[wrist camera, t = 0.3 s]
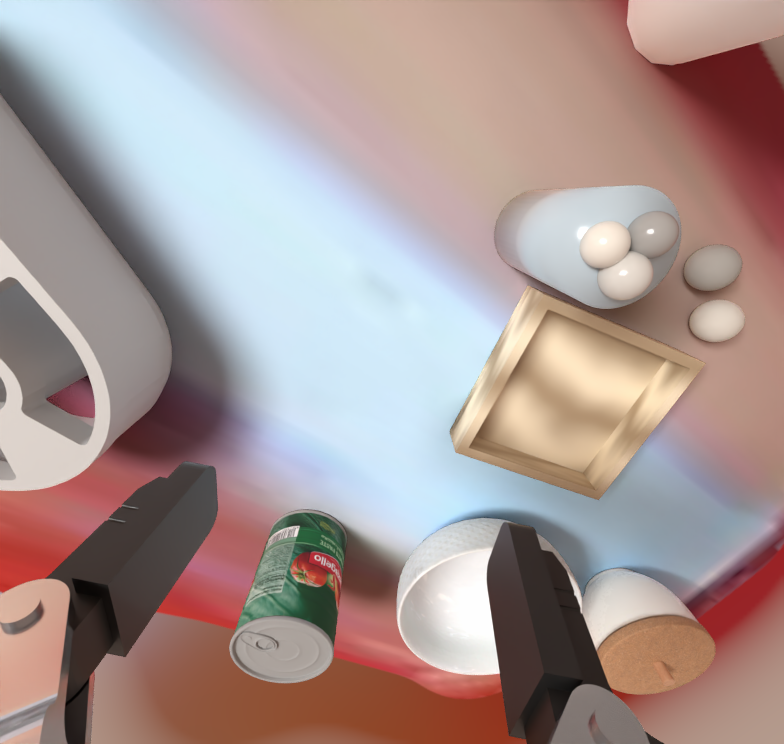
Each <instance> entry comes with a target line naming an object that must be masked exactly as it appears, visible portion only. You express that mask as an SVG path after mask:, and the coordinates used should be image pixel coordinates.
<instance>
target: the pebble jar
mask: <svg viewBox="0 0 784 744" xmlns="http://www.w3.org/2000/svg"><path fill="white" fill-rule="evenodd" d="M494 241H495V246H496V249H497V252H498V254H499V256H500V257H501V258H502V260H503V261H505V262H506V263H507V264H508V265H510V266H512V267H514V268H516V269H518V270H520V271H522V272H523V273H525V274H527V275H529V276H531V277H533V278H535V279H537V280H539V281H541V282H543V283H545V284H547V285H549V286H551V287H553V288H555V289H557V290H559V291H561V292H563V293H565V294H567V295H568V296H570V297H572V298H574V299H576V300H578V301H580V302H582V303H584V304H586V305H588V306H591V307H595V308H600V309H612V308H618V307H623V306H626V305H629V304H631V303H633V302H635V301H637V300H639V299H641V298H642V297H644V296H645V295H647V294H648V293H649V292H651V291H652V290H653V289H654V288H655V287H656V286H657V285H658V284H659V283H660V282H661V281H662V280H663V278H664V277H665V276H666V274H667V273H668V272H669V270H670V268H671V267H672V265H673V263H674V261H675V258H676V256H677V253H678V250H679V246H680V241H681V223H680V218H679V214H678V211H677V209H676V207H675V206H674V204H673V203H672V201H671V200H670V199H669V198H668V197H667V196H666V195H665V194H663V193H662V192H660V191H659V190H656V189H654V188H651V187H647V186H639V185H632V186H610V187H589V188H567V189H546V190H531V191H527V192H524V193H522V194H520V195H518V196H516V197H515V198H513V199H512V200H511V201H510V202H509V203H508V204H507V205H506V206H505V207H504V209H503V210H502V211H501V213H500V215H499V217H498V219H497V222H496V226H495V231H494Z"/></svg>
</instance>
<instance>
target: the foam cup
mask: <svg viewBox="0 0 784 744" xmlns="http://www.w3.org/2000/svg"><path fill="white" fill-rule="evenodd" d="M627 26H628V29H629V32H630V35H631V38H632V41H633V44H634V47H635V49H636V50H637V51H638V52H639V53H641V54H642V55H643V56H644V57H645V58H646V59H647V60H649V61H650V62H651V63H656V64H665V65H675V64H678V63H679V64H681V63H685V62H688V61H692V60H696V59H699V58H703V57H707V56H710V55H714V54H718V53H721V52H725V51H729V50H732V49H736V48H740V47H743V46H747V45H751V44H754V43H758V42H762V41H765V40H769V39H773V38H776V37H780V36H783V35H784V0H629V3H628V15H627Z"/></svg>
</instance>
